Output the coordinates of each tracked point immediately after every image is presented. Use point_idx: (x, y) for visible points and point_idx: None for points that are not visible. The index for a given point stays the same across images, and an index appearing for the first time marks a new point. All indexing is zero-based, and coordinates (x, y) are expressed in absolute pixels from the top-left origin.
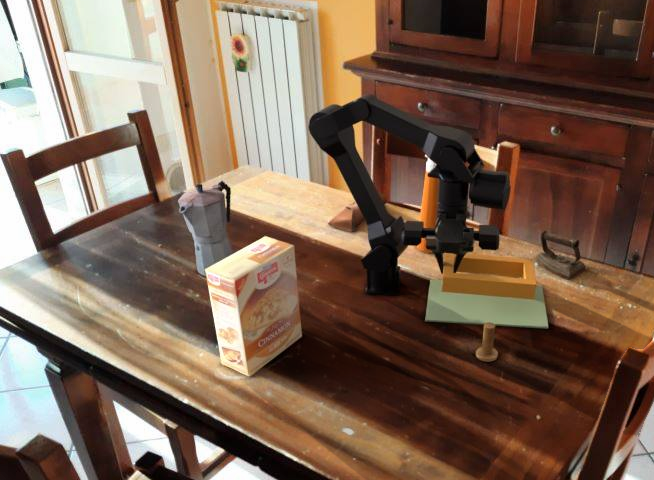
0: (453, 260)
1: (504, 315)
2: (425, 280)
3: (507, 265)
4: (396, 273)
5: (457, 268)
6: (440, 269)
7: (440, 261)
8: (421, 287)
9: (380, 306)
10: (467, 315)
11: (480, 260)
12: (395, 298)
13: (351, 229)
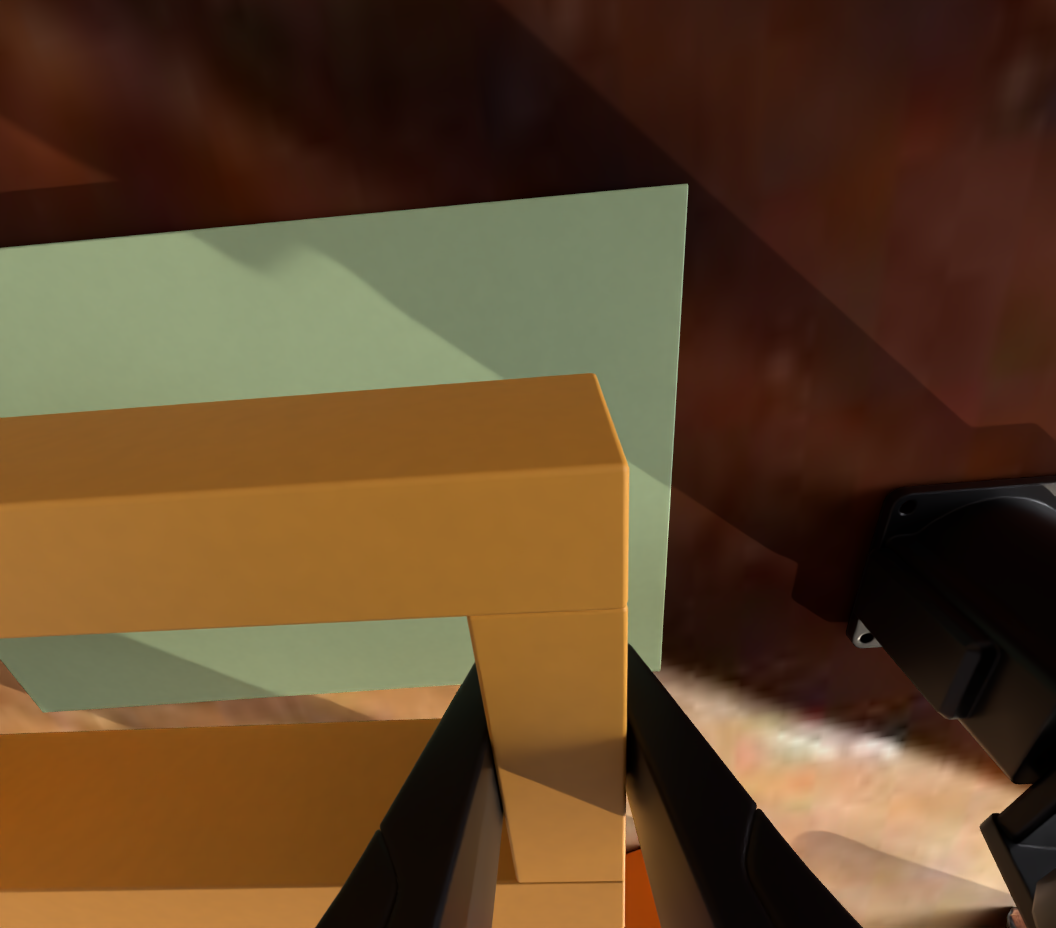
0: (516, 838)
1: (93, 378)
2: (685, 663)
3: (11, 838)
4: (987, 636)
5: (442, 723)
6: (655, 685)
7: (702, 806)
8: (709, 601)
9: (1021, 342)
10: (357, 322)
11: (246, 869)
12: (888, 462)
13: (1016, 922)
